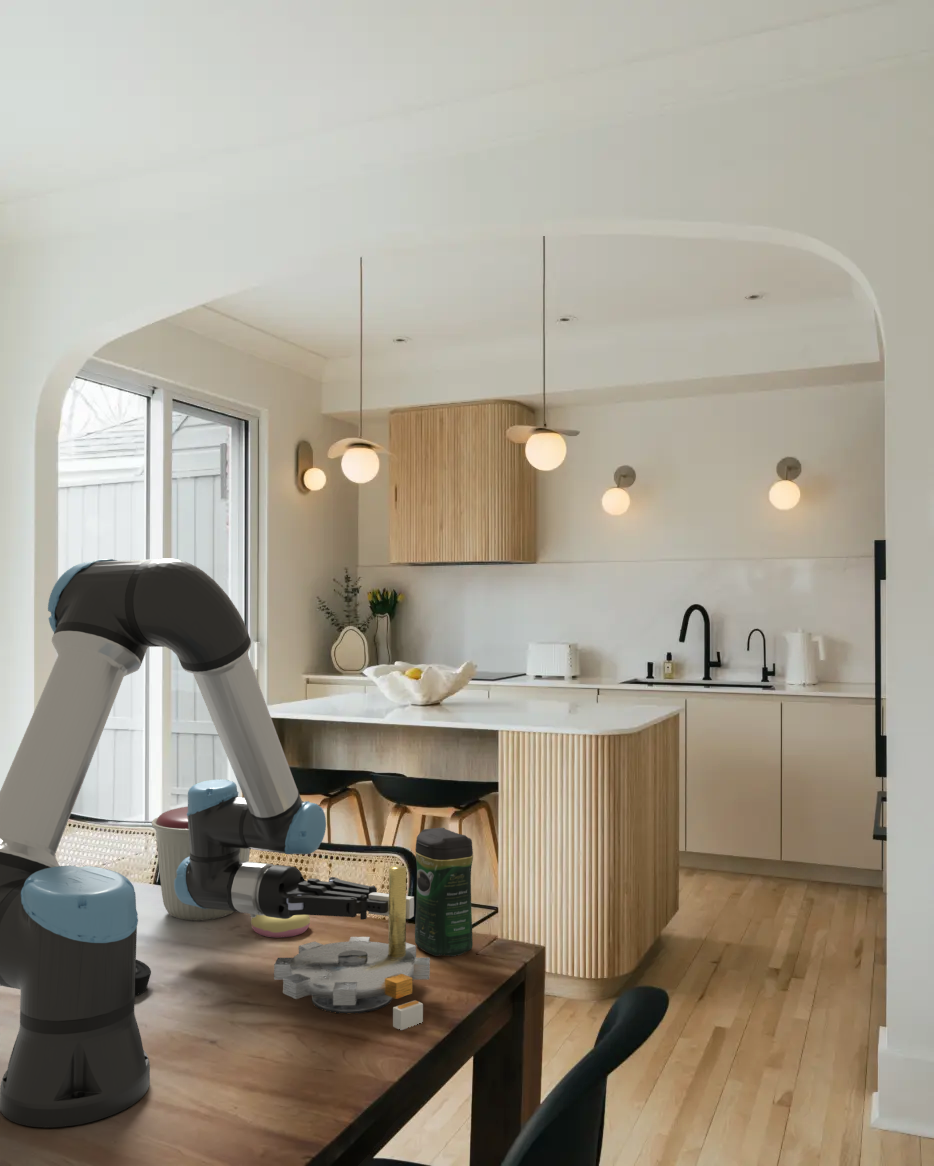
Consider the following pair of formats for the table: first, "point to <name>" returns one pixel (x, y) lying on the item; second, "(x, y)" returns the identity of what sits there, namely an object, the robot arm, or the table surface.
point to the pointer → (407, 1015)
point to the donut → (280, 925)
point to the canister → (171, 854)
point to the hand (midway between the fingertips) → (411, 907)
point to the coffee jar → (443, 892)
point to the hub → (360, 1007)
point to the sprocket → (358, 961)
